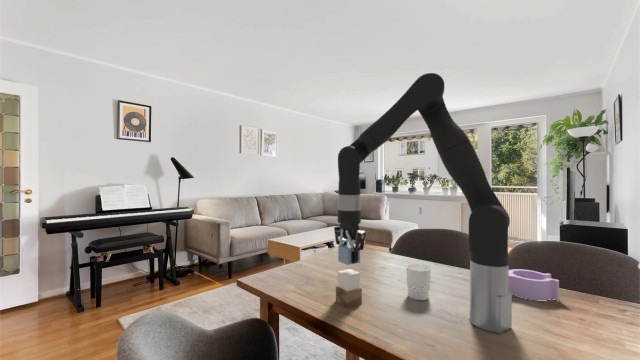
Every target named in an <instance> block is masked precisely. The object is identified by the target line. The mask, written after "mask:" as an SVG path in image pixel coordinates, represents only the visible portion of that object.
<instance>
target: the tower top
mask: <svg viewBox="0 0 640 360" xmlns="http://www.w3.org/2000/svg"><path fill="white" fill-rule="evenodd" d="M360 275H361V274H360V272H359V271H357V270H353V269H351V268H347V269H344V270H343V269H342V270H338V271H337V286H338V287H340V288H342V289H344V290H345V291H347V292H348V291H351V290H355V289H359V288H361V286H360V285H361V283H360V282H361V279H360V278H361V276H360Z"/></svg>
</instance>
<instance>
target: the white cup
mask: <svg viewBox="0 0 640 360" xmlns="http://www.w3.org/2000/svg"><path fill="white" fill-rule="evenodd" d="M431 273H432V270H431V267H430V266H428V265H426V264H419V263H412V264H411V263H410V264H407V265H406V285H407V295H408V297H409V298H410V299H412V300H416V301H426V300H428V299H429V298H430V290H431V289H430V288H431V287H430V286H431Z"/></svg>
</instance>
